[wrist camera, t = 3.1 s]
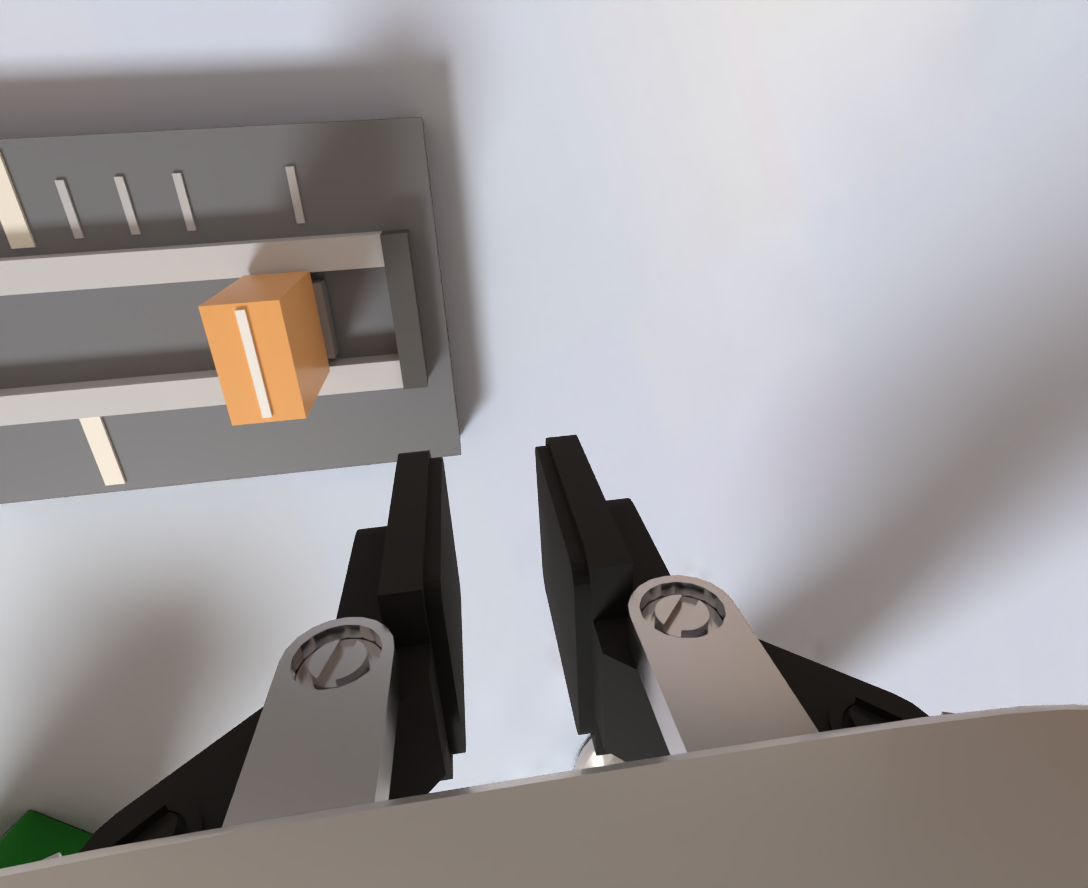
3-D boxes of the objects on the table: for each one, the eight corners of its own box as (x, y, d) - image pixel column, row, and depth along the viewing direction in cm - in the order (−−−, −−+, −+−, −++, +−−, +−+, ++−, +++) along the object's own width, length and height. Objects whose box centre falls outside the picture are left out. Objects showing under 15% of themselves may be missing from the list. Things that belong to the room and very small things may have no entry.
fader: (322, 265, 25) (288, 299, 20) (341, 362, 27) (314, 418, 22) (243, 271, 25) (186, 307, 20) (267, 368, 27) (221, 427, 21)
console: (422, 118, 26) (419, 116, 23) (460, 437, 32) (461, 466, 29) (-190, 151, 23) (-278, 152, 20) (-23, 487, 29) (-73, 524, 27)
